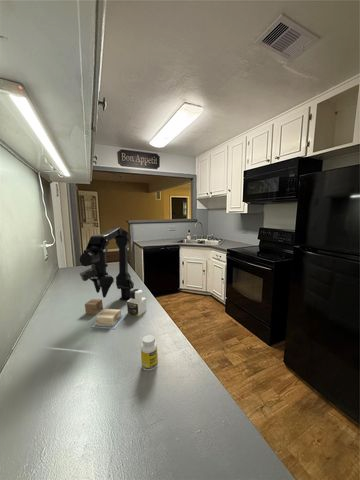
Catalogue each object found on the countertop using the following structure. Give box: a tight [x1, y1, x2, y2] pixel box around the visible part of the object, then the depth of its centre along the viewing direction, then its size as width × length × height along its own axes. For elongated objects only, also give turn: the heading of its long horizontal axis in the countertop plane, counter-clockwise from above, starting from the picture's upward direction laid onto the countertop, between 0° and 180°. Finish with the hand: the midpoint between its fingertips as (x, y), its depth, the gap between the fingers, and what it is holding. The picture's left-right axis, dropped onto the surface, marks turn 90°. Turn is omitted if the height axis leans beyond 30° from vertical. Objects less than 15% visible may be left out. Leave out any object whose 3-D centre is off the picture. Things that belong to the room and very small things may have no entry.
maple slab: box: [95, 308, 122, 327], centre depth 95 cm, size 8×8×4 cm
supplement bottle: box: [140, 334, 159, 371], centre depth 67 cm, size 5×5×10 cm
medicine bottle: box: [126, 288, 148, 317], centre depth 103 cm, size 7×7×12 cm
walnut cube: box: [84, 298, 104, 316], centre depth 105 cm, size 6×6×6 cm
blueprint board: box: [90, 314, 127, 330], centre depth 95 cm, size 12×12×1 cm
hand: (101, 294), depth 95 cm, fingers open, 9 cm apart
